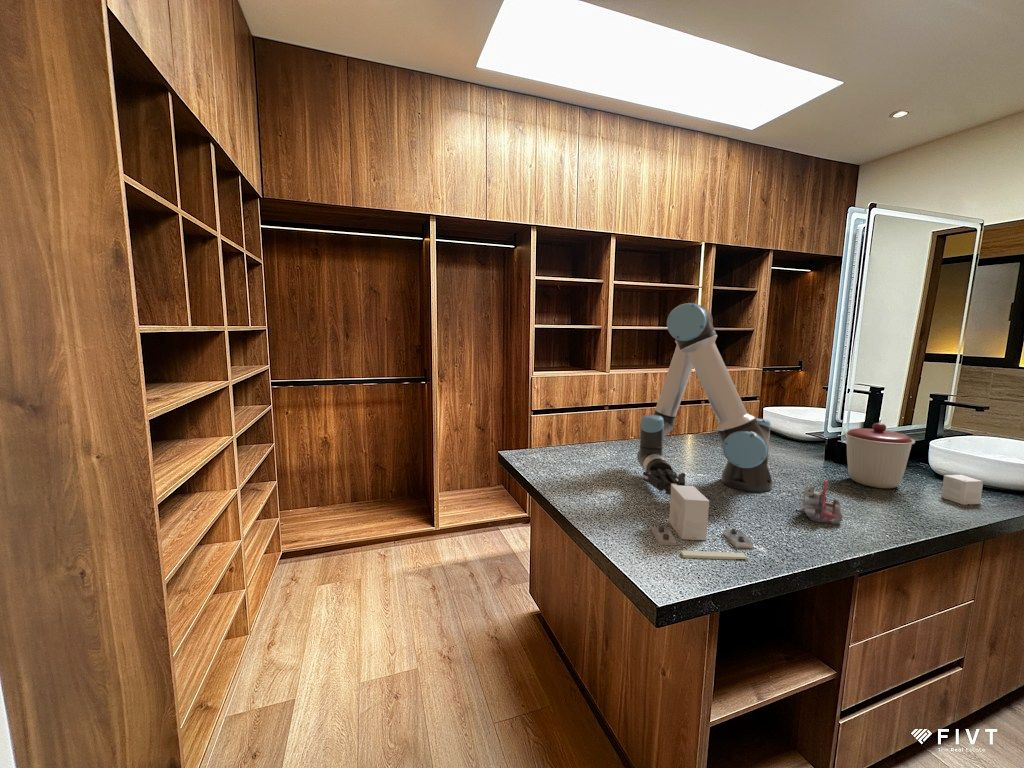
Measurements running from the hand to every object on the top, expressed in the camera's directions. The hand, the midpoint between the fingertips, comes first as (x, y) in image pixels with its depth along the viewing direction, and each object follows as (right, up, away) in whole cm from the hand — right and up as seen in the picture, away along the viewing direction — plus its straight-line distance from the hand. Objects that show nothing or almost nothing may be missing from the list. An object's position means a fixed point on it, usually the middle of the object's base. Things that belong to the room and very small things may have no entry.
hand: (680, 496), depth 114 cm
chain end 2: (+10, -8, -10) cm, 16 cm away
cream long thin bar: (+1, -9, -17) cm, 20 cm away
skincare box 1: (0, -8, -5) cm, 9 cm away
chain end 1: (-8, -8, -9) cm, 14 cm away
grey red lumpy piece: (+40, -7, +3) cm, 41 cm away
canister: (+78, -4, +30) cm, 84 cm away
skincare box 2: (+92, -6, +15) cm, 94 cm away
